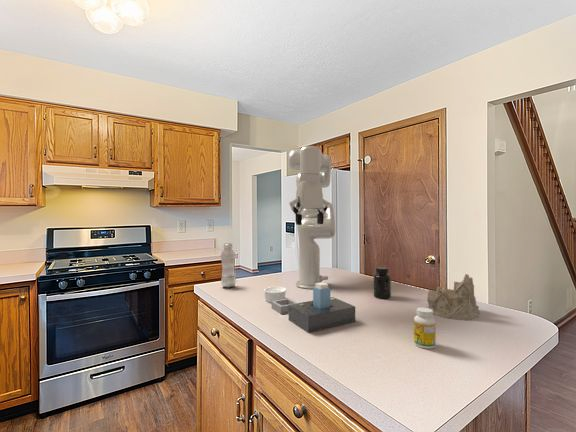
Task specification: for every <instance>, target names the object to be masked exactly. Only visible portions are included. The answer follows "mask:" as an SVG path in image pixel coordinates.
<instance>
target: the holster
mask: <svg viewBox="0 0 576 432" xmlns="http://www.w3.org/2000/svg"><path fill="white" fill-rule="evenodd" d="M296 303H297V301H294V300H292V298H291V299H290V298H285V299H282V300H276V301H272V303H271V309H272V310H274V311H276V312H277V313H279V314H281V315H282V314H286V313H288V314H289V305H291V304H296Z"/></svg>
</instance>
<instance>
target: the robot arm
mask: <svg viewBox="0 0 576 432" xmlns="http://www.w3.org/2000/svg"><path fill="white" fill-rule="evenodd" d="M288 165H289V168H290V169H291V170H293V171H294V170H297V171H299V172H298V174H296V177H295V183H296V192H295V199H293V200H291V201H289V203H288V204H289V206H290V209H291V211H292V212H293V214H294V215H295V225H296V226H297V227H296V228H297V234H298V247H299V249H298V251H299V252H298V253H299V255H298V257H299V263H298V264H299V265H298V266H299V267H298V268H299V269H298V270H299V272H298V275H299V276H298V277H299V281H296V282H295V286H296V287H298V288H301V289H307V290H308V289H309V290H311V289H312V290H313V287H315V283H321V282H324V281H328V280H329V276H328V275H321V273H320V272H321V271H320V270H321V268H320V266H321V265H320V263H321V262H320V260H321V259H320V258H321V251H320V250H321V249H320V246H319V244H318V243H317V242H316V241H315V239H317V240H319V239H322V240H323V239H324V240H325V239H333V237H334V236H335V235H336V220H335V210H334V206H333V204H332V203H331V202H330V201H328V200H326V199H324V194H323V189H324V188H328V187H329V186H330V184H331V175H332V161H331V157H330V156H329V155H328V154H325V153H323V152H322V151H321V150H320V148H319V147H317V146H315V145H307V146H303V147H301V148H300V149H293V150H290V152H289V154H288Z"/></svg>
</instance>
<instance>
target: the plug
mask: <svg viewBox="0 0 576 432" xmlns="http://www.w3.org/2000/svg"><path fill="white" fill-rule="evenodd" d="M330 297H331V287H329V283H326V282H324V281H322V282H321V283H315V287H313V289H312V301H313V306H314V307H316V308H318V309H325V308H330Z"/></svg>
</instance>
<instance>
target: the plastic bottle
mask: <svg viewBox="0 0 576 432" xmlns="http://www.w3.org/2000/svg"><path fill="white" fill-rule="evenodd" d="M223 248H224V249H223V251H222V252H221V254H220V259H221V267H222V268H221V278H220V279H221V281H220V282H221V286H222V287H223V288H233V287H235V286H236V284H237V280H236V274H235V273H236V272H235V262H236V254H235V251H234V250H233V243H231V242H230V243H223Z"/></svg>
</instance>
